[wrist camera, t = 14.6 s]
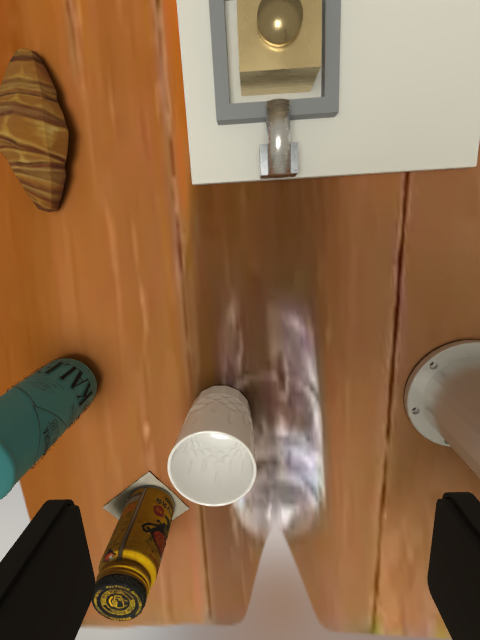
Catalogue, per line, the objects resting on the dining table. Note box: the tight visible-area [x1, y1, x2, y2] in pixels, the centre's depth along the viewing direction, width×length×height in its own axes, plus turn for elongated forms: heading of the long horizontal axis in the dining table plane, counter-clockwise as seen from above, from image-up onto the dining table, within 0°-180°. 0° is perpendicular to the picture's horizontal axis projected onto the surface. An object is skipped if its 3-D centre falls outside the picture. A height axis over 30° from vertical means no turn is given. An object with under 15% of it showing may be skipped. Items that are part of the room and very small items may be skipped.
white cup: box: [168, 386, 256, 506], centre depth 35 cm, size 8×8×10 cm
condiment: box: [92, 472, 189, 621], centre depth 38 cm, size 7×8×12 cm
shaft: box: [259, 99, 298, 179], centre depth 30 cm, size 6×3×4 cm, turn 3°
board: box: [177, 0, 480, 185], centre depth 29 cm, size 26×20×2 cm
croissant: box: [0, 48, 69, 212], centre depth 30 cm, size 14×7×5 cm, turn 179°
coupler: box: [237, 0, 322, 96], centre depth 27 cm, size 6×6×6 cm
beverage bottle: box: [0, 358, 97, 499], centre depth 30 cm, size 6×7×20 cm
